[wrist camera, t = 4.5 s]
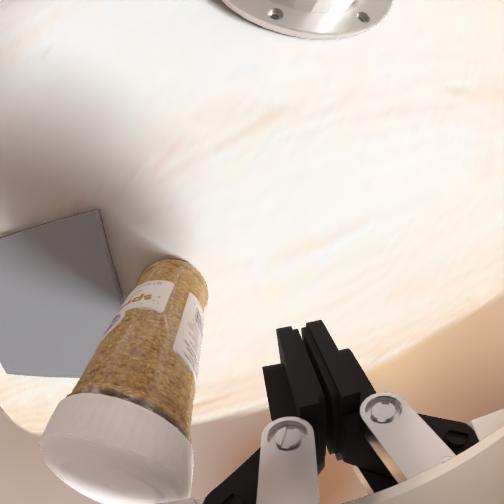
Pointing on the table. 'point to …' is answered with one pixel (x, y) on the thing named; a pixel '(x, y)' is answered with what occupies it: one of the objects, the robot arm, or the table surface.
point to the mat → (56, 296)
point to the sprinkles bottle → (136, 396)
